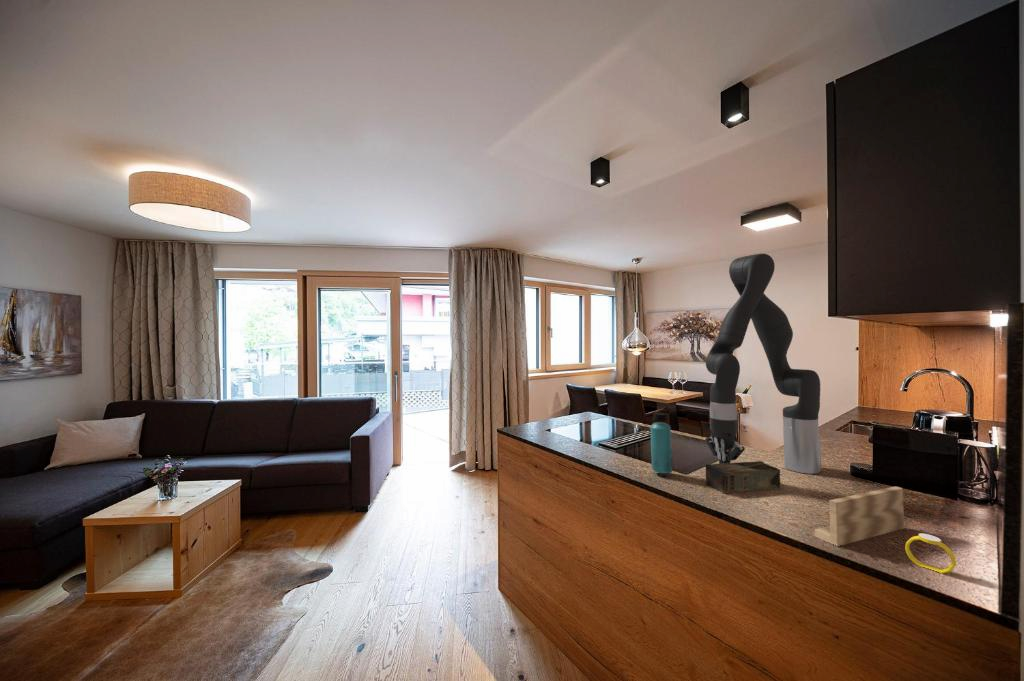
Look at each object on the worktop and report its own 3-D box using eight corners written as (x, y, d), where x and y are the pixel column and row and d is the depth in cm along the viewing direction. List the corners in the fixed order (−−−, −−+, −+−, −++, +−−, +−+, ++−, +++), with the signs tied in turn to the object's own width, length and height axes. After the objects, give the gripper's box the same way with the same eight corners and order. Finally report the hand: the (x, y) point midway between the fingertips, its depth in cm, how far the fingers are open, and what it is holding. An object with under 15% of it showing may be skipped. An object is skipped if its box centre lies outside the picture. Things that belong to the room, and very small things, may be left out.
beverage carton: (782, 489, 103) (781, 466, 104) (723, 495, 100) (722, 472, 100) (759, 479, 111) (758, 458, 111) (703, 485, 108) (703, 463, 108)
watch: (955, 575, 65) (957, 543, 65) (953, 581, 63) (955, 548, 63) (906, 557, 70) (908, 527, 70) (903, 562, 68) (905, 531, 68)
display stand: (880, 519, 85) (878, 481, 85) (904, 528, 80) (902, 488, 81) (814, 536, 78) (813, 494, 78) (837, 546, 74) (835, 502, 74)
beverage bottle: (675, 478, 113) (673, 415, 113) (653, 477, 114) (651, 414, 114) (670, 471, 119) (668, 411, 120) (649, 470, 120) (647, 411, 121)
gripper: (751, 419, 107) (753, 477, 107) (715, 412, 120) (716, 464, 120) (732, 421, 105) (733, 480, 105) (697, 413, 118) (698, 466, 118)
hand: (724, 471), depth 112 cm, fingers closed
